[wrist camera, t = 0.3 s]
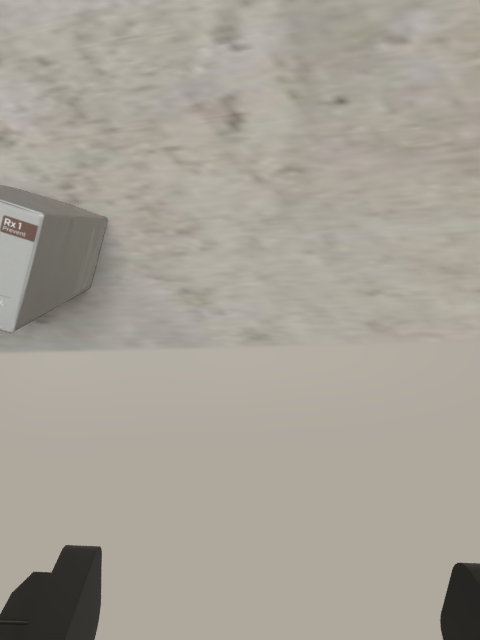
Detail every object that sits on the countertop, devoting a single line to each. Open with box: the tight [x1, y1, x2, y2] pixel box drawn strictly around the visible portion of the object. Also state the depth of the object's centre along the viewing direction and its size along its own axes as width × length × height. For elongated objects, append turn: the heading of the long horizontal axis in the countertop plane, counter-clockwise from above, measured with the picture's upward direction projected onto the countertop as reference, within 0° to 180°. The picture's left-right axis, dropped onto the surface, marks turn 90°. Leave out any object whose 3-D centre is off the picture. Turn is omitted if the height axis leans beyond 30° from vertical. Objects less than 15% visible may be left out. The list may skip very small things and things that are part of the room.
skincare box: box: [0, 185, 108, 333], centre depth 28 cm, size 8×7×16 cm
